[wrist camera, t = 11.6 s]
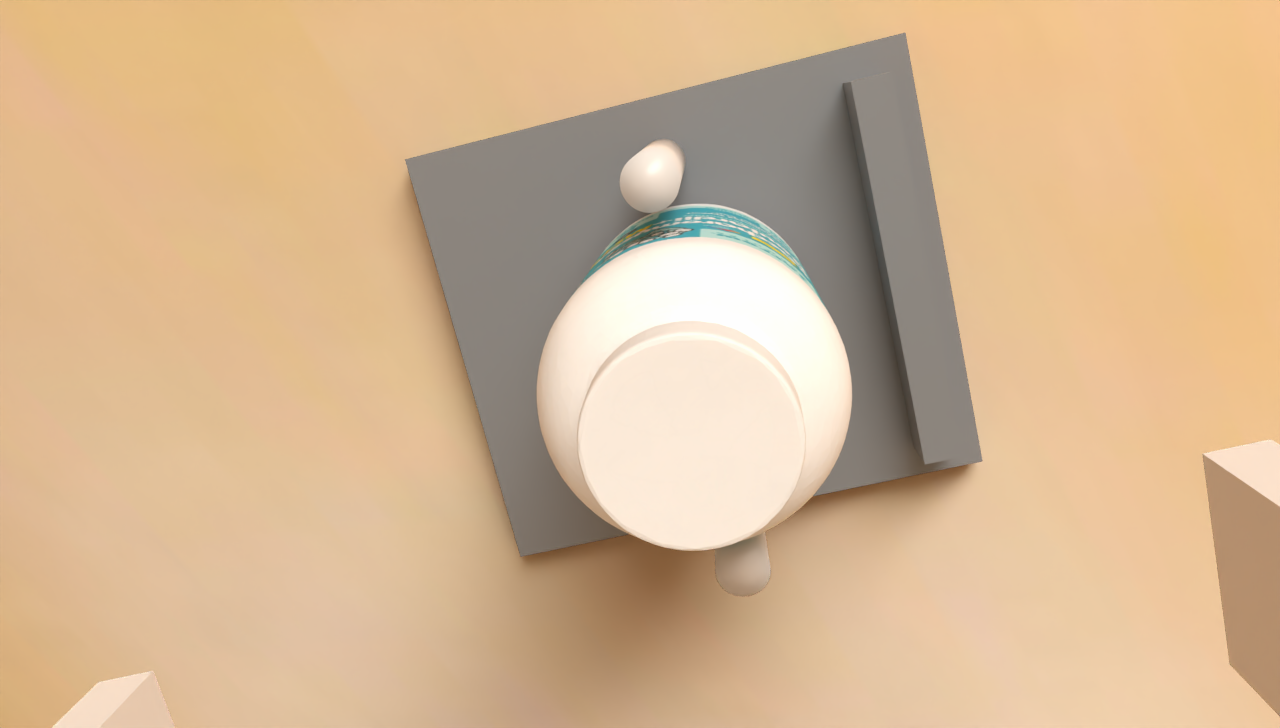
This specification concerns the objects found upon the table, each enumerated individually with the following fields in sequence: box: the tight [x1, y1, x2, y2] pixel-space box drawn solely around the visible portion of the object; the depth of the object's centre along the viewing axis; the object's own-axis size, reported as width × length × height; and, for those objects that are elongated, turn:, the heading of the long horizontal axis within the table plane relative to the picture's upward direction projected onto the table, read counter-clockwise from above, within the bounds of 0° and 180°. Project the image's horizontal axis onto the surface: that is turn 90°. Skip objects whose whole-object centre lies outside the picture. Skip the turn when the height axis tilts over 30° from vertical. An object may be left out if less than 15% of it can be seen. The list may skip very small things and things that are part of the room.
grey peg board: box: [405, 33, 982, 597], centre depth 30 cm, size 16×14×10 cm
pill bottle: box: [537, 204, 852, 551], centre depth 28 cm, size 8×7×14 cm
